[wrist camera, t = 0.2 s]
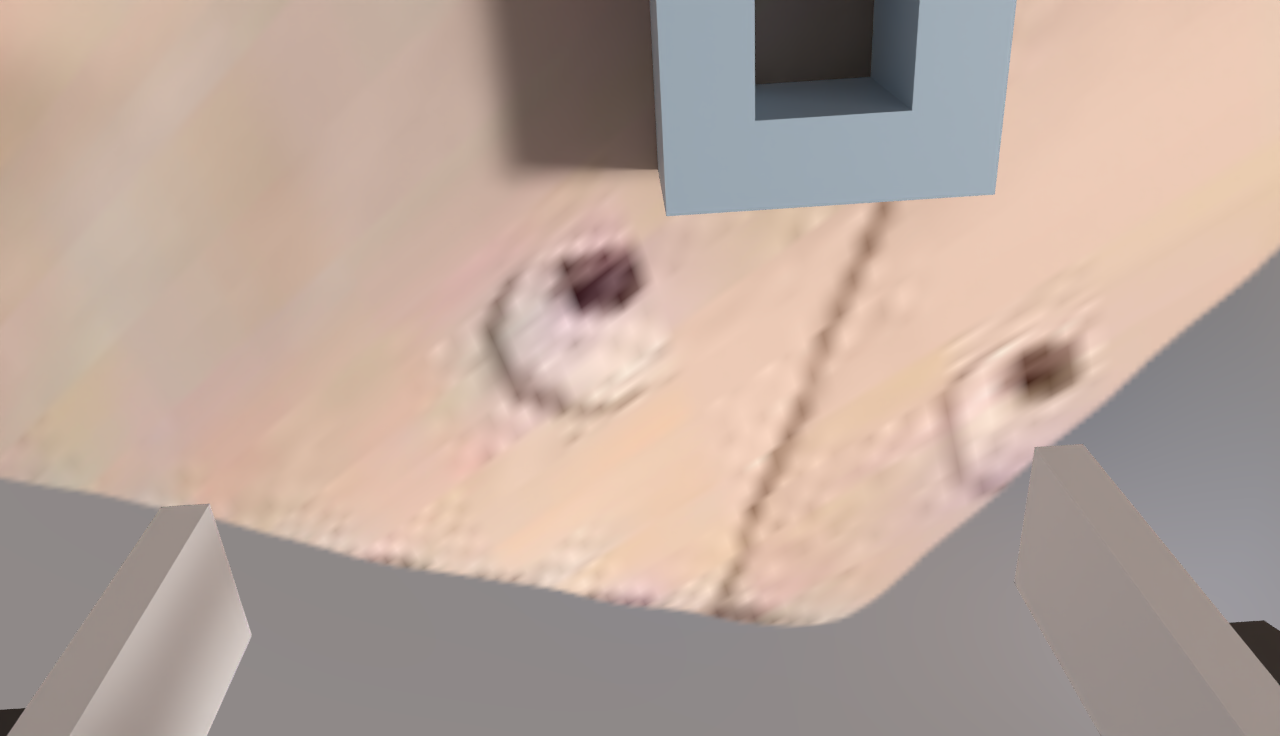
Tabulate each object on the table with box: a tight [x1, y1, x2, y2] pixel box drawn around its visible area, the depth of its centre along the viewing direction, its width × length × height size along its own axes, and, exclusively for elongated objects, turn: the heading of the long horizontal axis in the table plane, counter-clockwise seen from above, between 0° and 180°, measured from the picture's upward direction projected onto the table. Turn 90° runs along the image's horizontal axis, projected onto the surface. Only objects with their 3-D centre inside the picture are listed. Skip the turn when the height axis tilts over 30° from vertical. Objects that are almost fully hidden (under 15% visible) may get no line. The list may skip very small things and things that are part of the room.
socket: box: [650, 0, 1016, 216], centre depth 36 cm, size 12×12×6 cm
